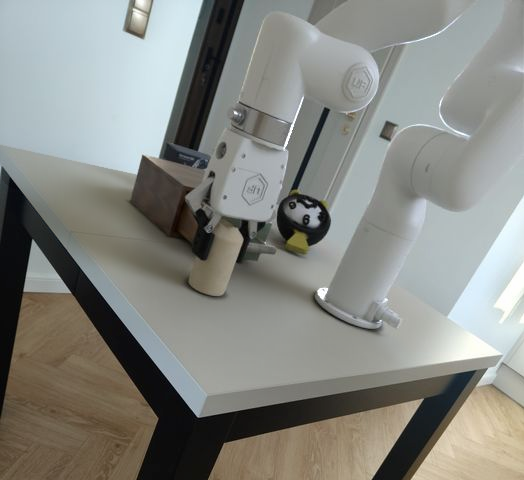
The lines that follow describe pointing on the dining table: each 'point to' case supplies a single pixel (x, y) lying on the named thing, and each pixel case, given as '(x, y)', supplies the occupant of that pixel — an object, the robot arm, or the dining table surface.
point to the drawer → (255, 245)
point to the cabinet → (164, 190)
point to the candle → (217, 261)
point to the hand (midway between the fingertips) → (216, 256)
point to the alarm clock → (302, 221)
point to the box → (186, 156)
